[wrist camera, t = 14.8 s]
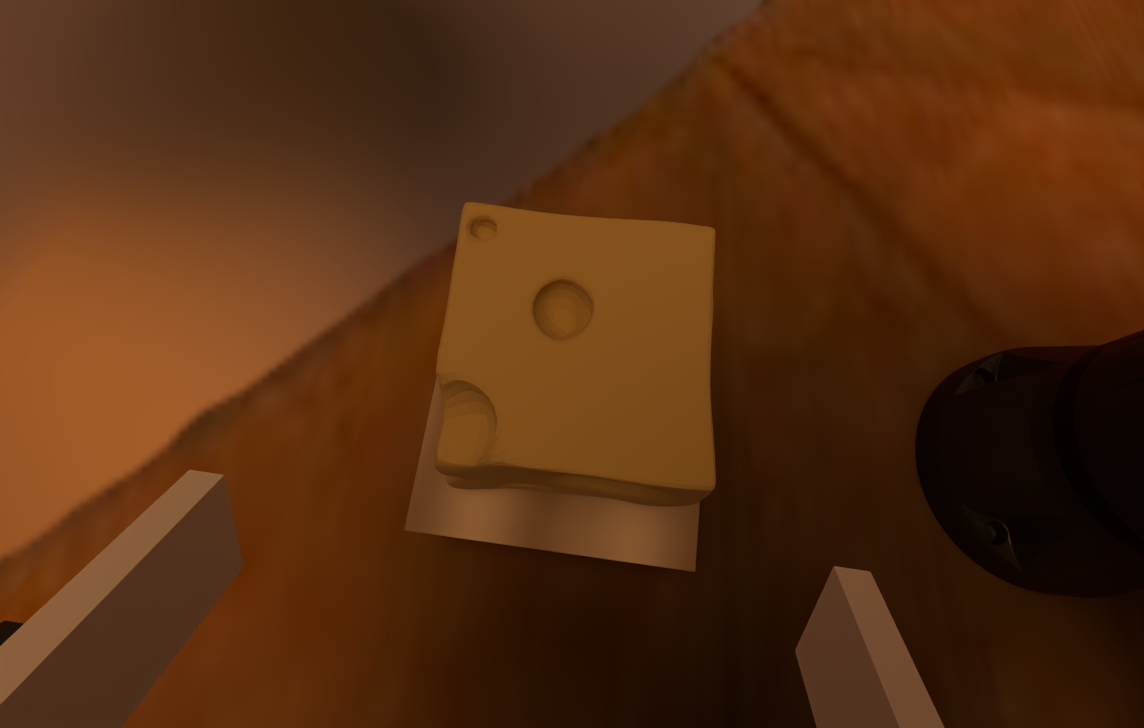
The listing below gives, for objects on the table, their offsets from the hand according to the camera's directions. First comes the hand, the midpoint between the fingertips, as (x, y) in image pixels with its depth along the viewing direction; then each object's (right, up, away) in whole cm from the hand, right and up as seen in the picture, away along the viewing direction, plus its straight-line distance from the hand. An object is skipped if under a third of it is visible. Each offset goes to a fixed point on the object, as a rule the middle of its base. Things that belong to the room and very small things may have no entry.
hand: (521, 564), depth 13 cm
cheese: (+1, +3, +17) cm, 18 cm away
